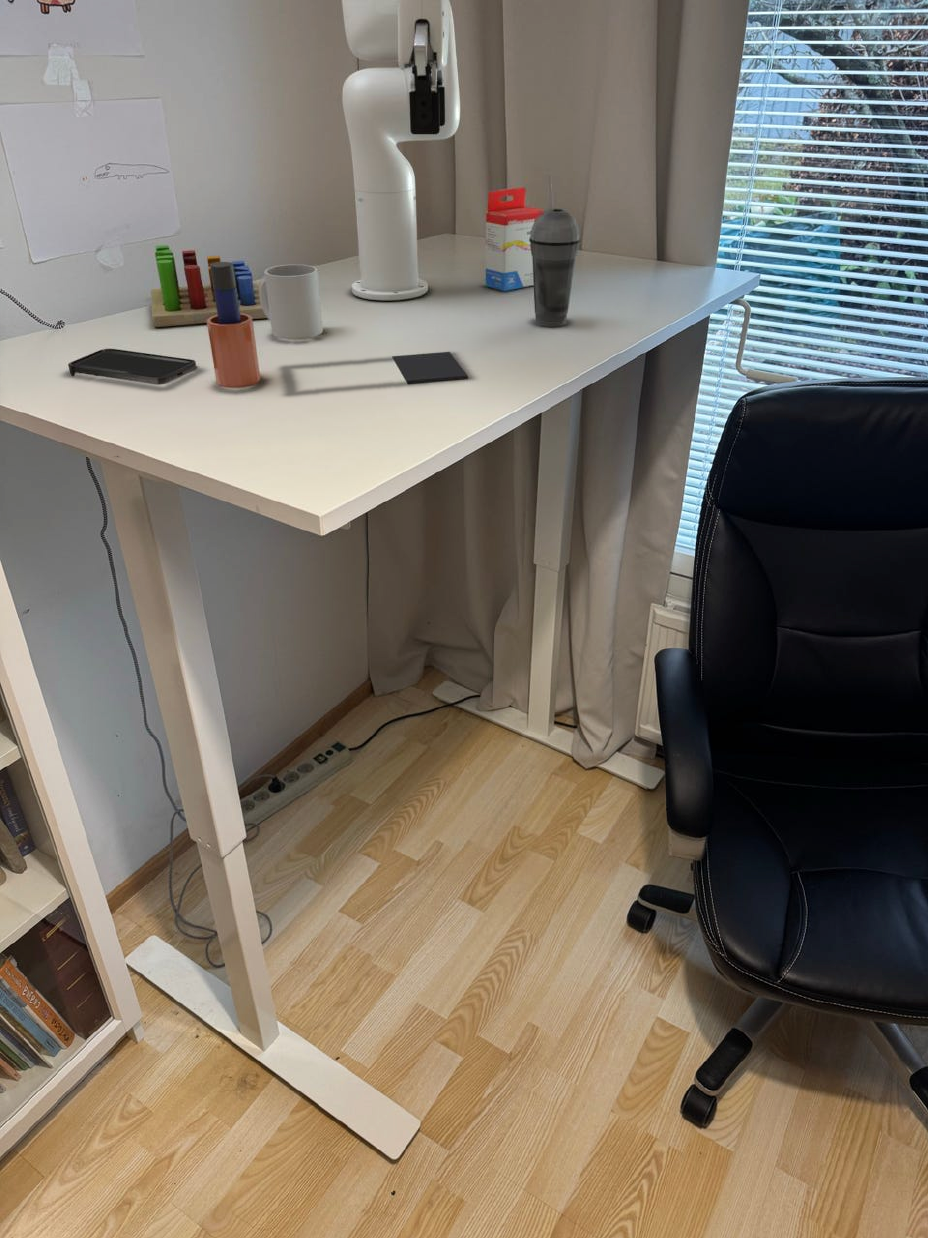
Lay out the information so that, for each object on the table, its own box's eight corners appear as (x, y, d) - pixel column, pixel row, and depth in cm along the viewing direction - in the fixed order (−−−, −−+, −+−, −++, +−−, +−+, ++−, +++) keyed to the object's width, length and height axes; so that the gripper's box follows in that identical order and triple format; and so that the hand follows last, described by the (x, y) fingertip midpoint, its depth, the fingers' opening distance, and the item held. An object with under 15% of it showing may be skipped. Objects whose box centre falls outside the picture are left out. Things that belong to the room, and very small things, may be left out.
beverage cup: (572, 330, 129) (582, 177, 118) (522, 328, 130) (527, 176, 119) (577, 317, 135) (587, 170, 124) (529, 314, 136) (535, 169, 125)
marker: (227, 377, 111) (209, 262, 103) (248, 375, 111) (232, 260, 104) (228, 384, 109) (209, 267, 101) (249, 382, 109) (233, 265, 102)
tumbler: (217, 379, 112) (206, 314, 108) (259, 375, 113) (251, 311, 109) (217, 393, 108) (206, 326, 103) (262, 389, 109) (253, 323, 104)
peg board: (273, 318, 135) (266, 258, 130) (154, 328, 131) (142, 267, 126) (260, 290, 149) (253, 235, 144) (152, 299, 145) (141, 243, 140)
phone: (105, 347, 119) (199, 360, 114) (107, 356, 120) (200, 368, 115) (63, 365, 113) (160, 379, 108) (65, 374, 114) (161, 388, 109)
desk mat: (284, 367, 116) (284, 364, 115) (449, 354, 120) (449, 351, 120) (291, 393, 108) (291, 390, 107) (467, 378, 112) (467, 375, 112)
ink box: (503, 292, 147) (505, 194, 139) (484, 286, 151) (485, 191, 142) (541, 284, 152) (545, 189, 144) (522, 278, 155) (524, 185, 147)
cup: (299, 346, 123) (292, 278, 118) (247, 334, 128) (238, 269, 123) (333, 333, 128) (328, 268, 123) (282, 322, 133) (275, 259, 128)
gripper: (397, -51, 100) (403, 122, 110) (378, -64, 86) (387, 137, 95) (463, -52, 100) (464, 122, 109) (455, -65, 86) (457, 137, 95)
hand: (428, 129), depth 102 cm, fingers open, 9 cm apart
